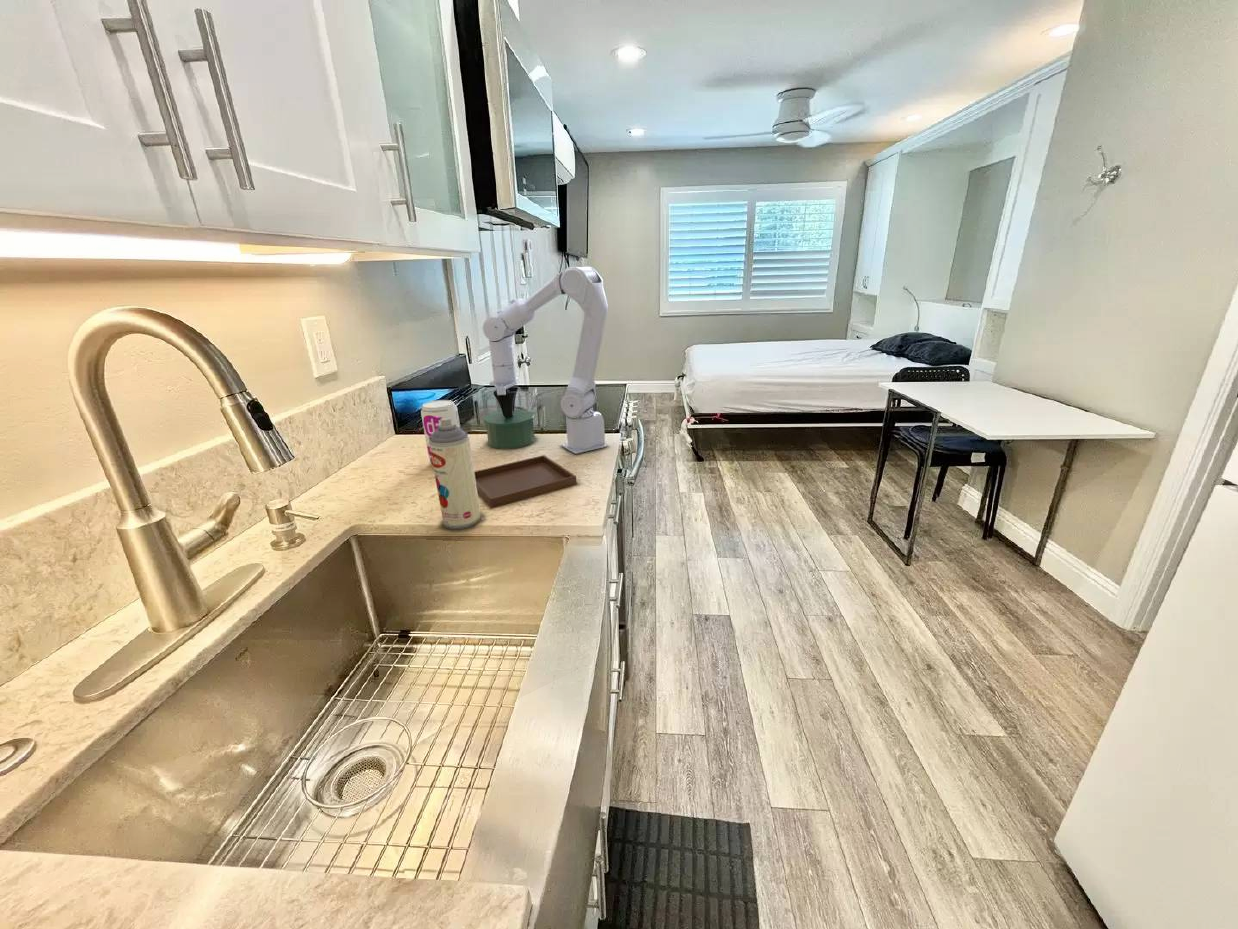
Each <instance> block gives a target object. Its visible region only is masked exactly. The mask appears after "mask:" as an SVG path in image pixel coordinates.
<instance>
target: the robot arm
mask: <svg viewBox="0 0 1238 929" xmlns="http://www.w3.org/2000/svg"><path fill="white" fill-rule="evenodd" d="M563 295H567V296H568V297H569V298H571V299H572V300H573V301H574V302H576V303H577V304H578V305H579V307H580V308H581V310H582V311H583V313H584V316H583V321H582V326H581V331H580V336H579V342H578V347H577V352H576V358H575V361H574V362H575V363H574V367H573V372H572V378H571V379H570V380H569V382H568V385H567V387H566V392H565V393H564V395H563V396H562V397H561V399H560V409H561V411H562V412H563V414H564V415H565V424H566V425H565V426H566V440H567V441H566V443H565V442H564V443H561V447H562V448H564V449H566V450H568V451H570V452H571V453H572V454H575V455H577V454H582V453H586V452H590V451H594V450H598V449H603V448H606V447H607V444H606V433H605V420H604V417H603V415H602V413H600V411H594V406H595V404H596V402H597V394H596V387H597V384H596V382H595V375H596V369H597V366H598V361H599V355H600V351H601V346H602V342H603V337H604V332H605V328H606V324H607V323H606V322H607V318H608V313H609V304H608V300H607V297H606V292H605V289H604V279H603V278H602V277H601V275H600V274H599V273H598V272H597V270H596V269H595V268H593V267H591V266H569V267H566V268H565V269H564V270H563V271H561V272H559V273H556V274H555V275H554V276H553V277H551V279H549V280H548V281H547V282H546V283H545V284H543V285H542V286H541V287H540V288H539V289H538V290H536V291H534V293H532V294H531V295H530V296H529V297H528V298H526V299H525V298H522V297H521V298H513V299H511V300H510V304H509V305H507V306H506V307H505V308H504V309H500V310H498V311H497V312H496V314H497V315H496V316H488V317H487V318H486V320H484V322H483V325H482V331H483V335H484V336H485V337H486V339H488V344H489V351H490V360H491V368H492V369H491V370H492V376H493V380H491V381H489V386H494V387H495V388H496V390H494V391H493V393H492V394H493V396H494V398H495V399H496V401H497V402H498V405H499V407H500V411H502V413H503V416H504V417H512V414H514V410H515V407H516V398H517V393H518V390H519V385H518V380H517V374H516V364H515V357H514V356H515V355H514V346H513V342H514V341H513V337H514V335H515V333H516V332H517V331H519V329H521V328H523V327H524V326H526V325H527V324H528V323H529V322H531V321H533V320H534V318H535V313H536V311H537V310H539V309H540V308H542V307H543V306H545V305H546V304H548V303H549V302H551V301H553V300H555V298H557V297H558V296H563Z"/></svg>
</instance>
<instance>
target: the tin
mask: <svg viewBox="0 0 1238 929" xmlns="http://www.w3.org/2000/svg"><path fill="white" fill-rule="evenodd" d="M485 428H486V435H487V442H488V446H490V447H491V448H494V449H501V450H513V449H520V448H523V447H526V446H529V445H532V444H533V443H534V442H535V440H536V439H535V437H536V436H535V427H534V418H533V419H532V420H531V421H528V422H526V423H522V424H517V425H509V426H496V425H490V424H487V423H485Z"/></svg>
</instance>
